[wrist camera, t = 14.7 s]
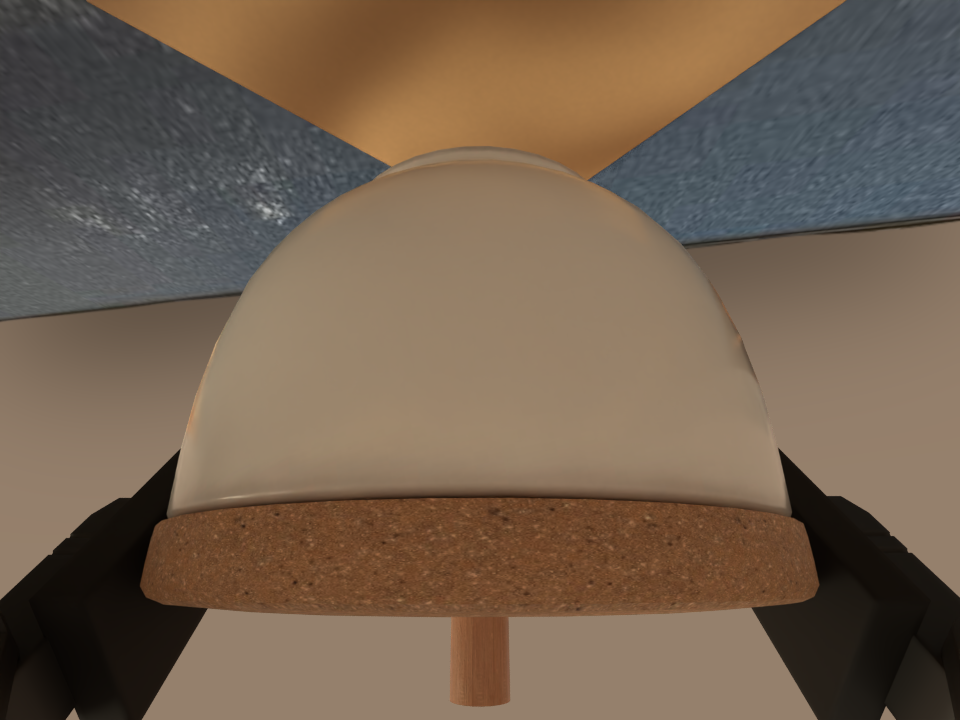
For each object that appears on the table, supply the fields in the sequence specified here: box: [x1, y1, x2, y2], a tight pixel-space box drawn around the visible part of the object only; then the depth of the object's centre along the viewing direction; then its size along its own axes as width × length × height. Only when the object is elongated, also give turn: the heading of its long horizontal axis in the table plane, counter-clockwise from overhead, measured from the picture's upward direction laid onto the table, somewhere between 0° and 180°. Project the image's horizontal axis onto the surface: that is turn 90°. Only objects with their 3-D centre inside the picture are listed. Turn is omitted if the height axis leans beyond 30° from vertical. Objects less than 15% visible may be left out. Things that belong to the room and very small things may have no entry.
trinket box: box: [140, 146, 819, 707], centre depth 11 cm, size 11×11×9 cm
